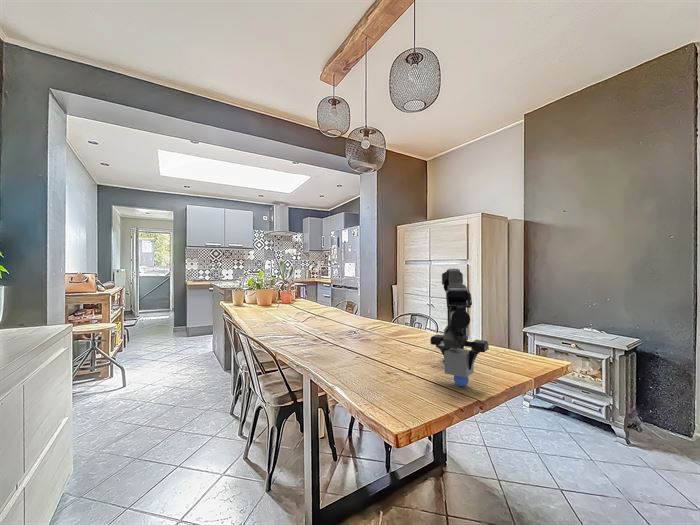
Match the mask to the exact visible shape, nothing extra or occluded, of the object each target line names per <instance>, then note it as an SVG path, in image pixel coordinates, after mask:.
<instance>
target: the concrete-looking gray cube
mask: <svg viewBox="0 0 700 525" xmlns="http://www.w3.org/2000/svg"><path fill="white" fill-rule="evenodd" d="M470 350H471V349H465V348H464V349H460V348H457V349H454V348H450V349H448V350H446V351H444V356H443V358H444V359H443V360H444V362H443V363H444V366H443V369H444V374H445V375H450V376H451V375H452V376H453V377H454V376H459V377H464V378H467V377H468V378H469V377H470V376H471V375H472V374H474V366H473V367H472V369H471V370H469V358H470V354H469V351H470Z"/></svg>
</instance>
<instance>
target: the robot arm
mask: <svg viewBox="0 0 700 525" xmlns="http://www.w3.org/2000/svg"><path fill="white" fill-rule="evenodd" d="M460 271H461V270H460V268H459V269H458V268H448V269H446V271H445V272H443V273H441V285H442V286H443V291H444V292H445V302H446V308H447V310H446V312H447V325H446V327H445V328H444V330H443V334H435V335H432V336H431V337H430V339H429V340H430V342H429V343H430V345H432V346H435V348H438V349H439V350H440V351H441V353H442V357H444V351H446V350H448V349H450V348H454V349H457V348H460V349H465V347H467V348H470V349H469V350H470V351H469V354H470V358H469V370H471V369H472V367H473V368H474V364H475V361H476V359H477V356H478V355H479V354H480V353H485V352H487V351H488V350H489V349H490V348H489V346H490V345H489V342H488V341H487V340H483V339H475V340H473V341H468V340H469V336H468V328H469V325H470V323H471V316H470V315H469V313H468V312H467V309H469V308H471V307H472V305H473V302H472V301H473V300H472V294H471V291H470V290H468V287H467V286H466V285H465V284H463V283H464V275H463V272H462V271H461V272H460ZM442 362H443V363H444V359H443V361H442Z"/></svg>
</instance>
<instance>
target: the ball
mask: <svg viewBox="0 0 700 525" xmlns="http://www.w3.org/2000/svg"><path fill="white" fill-rule="evenodd" d="M453 381H454V383H455V385H457V386H458V387H466V386H467V385H468V383H469V381H470V380H469V376H468V377H467V378H464V377H459V376H454V375H453Z"/></svg>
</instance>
